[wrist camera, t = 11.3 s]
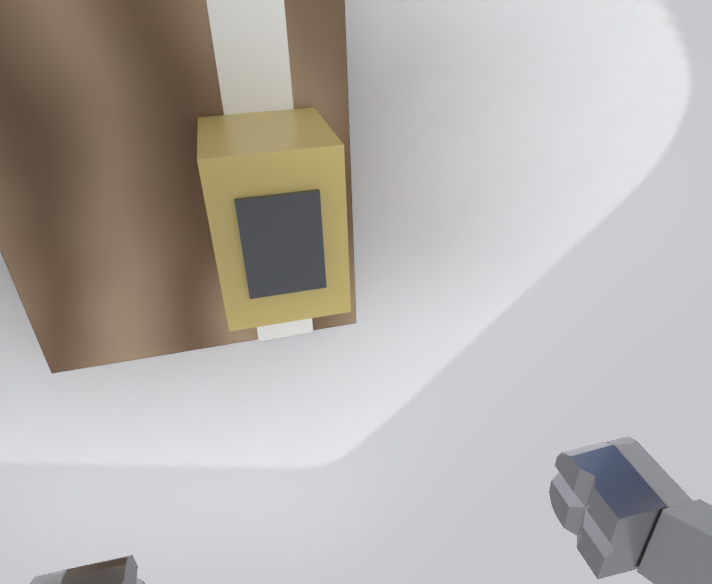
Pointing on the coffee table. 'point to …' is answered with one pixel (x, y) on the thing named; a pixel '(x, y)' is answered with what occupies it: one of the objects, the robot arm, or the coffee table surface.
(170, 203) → the board
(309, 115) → the block
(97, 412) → the coffee table surface
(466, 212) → the coffee table surface
